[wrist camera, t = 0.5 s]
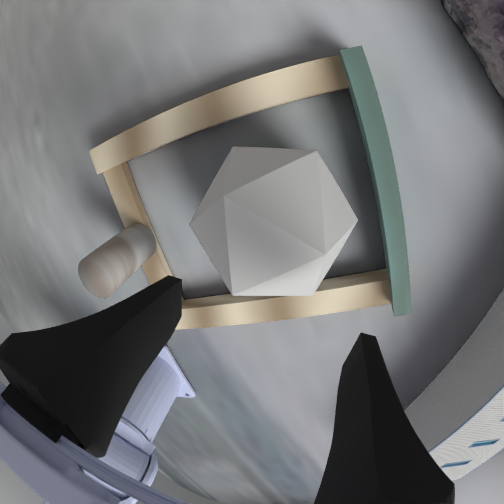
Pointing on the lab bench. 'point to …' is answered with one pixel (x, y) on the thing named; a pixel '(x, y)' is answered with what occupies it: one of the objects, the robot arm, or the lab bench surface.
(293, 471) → the lab bench surface
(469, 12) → the geode
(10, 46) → the lab bench surface
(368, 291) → the tan frame
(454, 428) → the long grey block
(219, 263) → the die
